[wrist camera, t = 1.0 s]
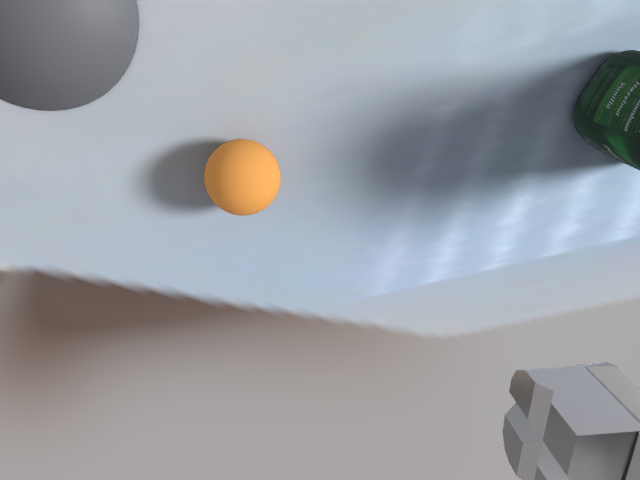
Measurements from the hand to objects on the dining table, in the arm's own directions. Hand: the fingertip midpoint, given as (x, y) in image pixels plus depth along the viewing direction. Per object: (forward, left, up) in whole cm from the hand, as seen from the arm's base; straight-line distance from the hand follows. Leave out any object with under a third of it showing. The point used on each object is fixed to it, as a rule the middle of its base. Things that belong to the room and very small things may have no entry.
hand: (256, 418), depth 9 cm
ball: (+6, -3, -33) cm, 33 cm away
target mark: (-10, -9, -36) cm, 38 cm away
